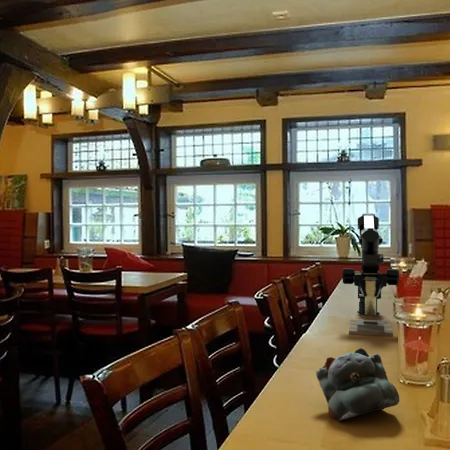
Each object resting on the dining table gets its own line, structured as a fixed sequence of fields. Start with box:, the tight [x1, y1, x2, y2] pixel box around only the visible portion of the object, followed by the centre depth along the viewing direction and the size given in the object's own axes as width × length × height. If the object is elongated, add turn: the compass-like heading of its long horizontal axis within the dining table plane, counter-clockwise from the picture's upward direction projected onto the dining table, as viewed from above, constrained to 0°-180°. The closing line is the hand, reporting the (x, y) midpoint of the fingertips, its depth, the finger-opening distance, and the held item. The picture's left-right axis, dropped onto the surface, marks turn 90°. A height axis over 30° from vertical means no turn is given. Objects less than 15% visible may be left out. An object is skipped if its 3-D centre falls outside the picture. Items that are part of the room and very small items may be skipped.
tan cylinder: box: [364, 276, 377, 316], centre depth 180 cm, size 4×4×13 cm
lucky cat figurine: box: [315, 347, 400, 423], centre depth 108 cm, size 15×12×14 cm
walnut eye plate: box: [348, 319, 394, 337], centre depth 185 cm, size 20×14×3 cm
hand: (370, 296), depth 179 cm, fingers closed on tan cylinder, 4 cm apart
